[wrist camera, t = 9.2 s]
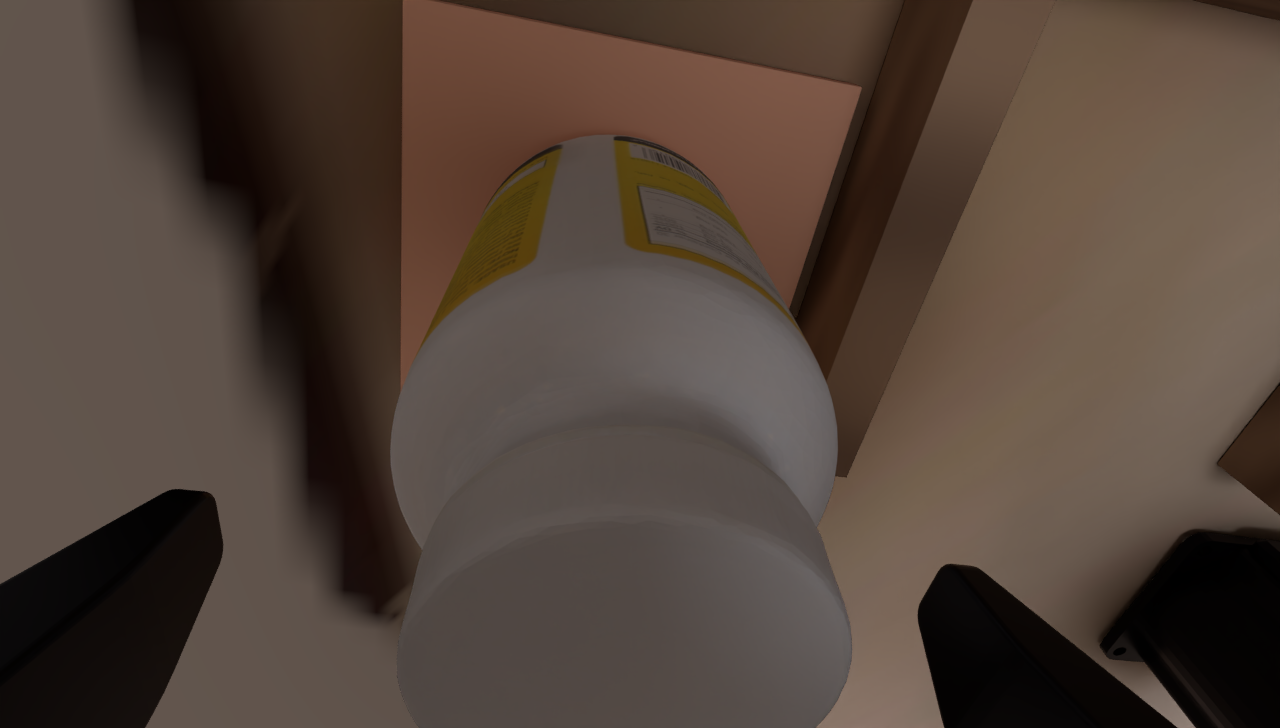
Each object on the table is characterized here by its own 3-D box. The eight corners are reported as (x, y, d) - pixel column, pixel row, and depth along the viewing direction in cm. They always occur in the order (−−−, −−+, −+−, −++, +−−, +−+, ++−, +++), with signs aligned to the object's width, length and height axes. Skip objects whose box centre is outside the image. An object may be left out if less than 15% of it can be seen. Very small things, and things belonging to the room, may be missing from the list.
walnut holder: (1255, 469, 22) (1341, 534, 20) (767, 405, 20) (791, 471, 17) (1627, 21, 16) (1831, 33, 13) (956, -151, 13) (1041, -179, 11)
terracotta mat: (742, 430, 20) (745, 440, 20) (405, 388, 19) (400, 398, 19) (855, 83, 15) (862, 87, 15) (408, -6, 14) (403, -5, 14)
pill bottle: (466, 348, 18) (295, 828, 8) (495, 96, 15) (272, 365, 5) (700, 388, 19) (810, 858, 9) (774, 160, 16) (1071, 494, 6)
